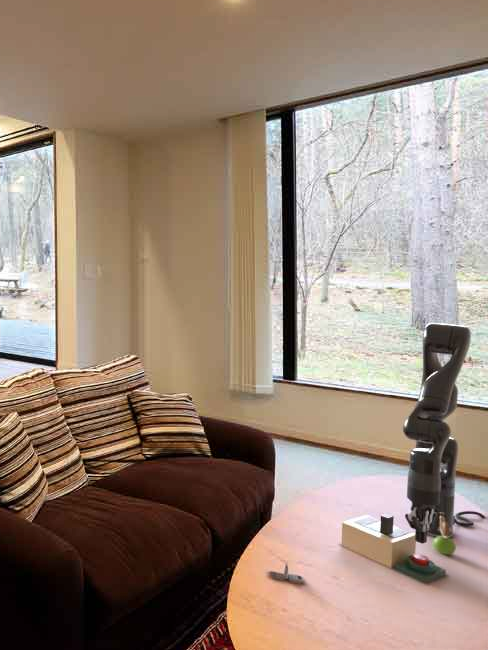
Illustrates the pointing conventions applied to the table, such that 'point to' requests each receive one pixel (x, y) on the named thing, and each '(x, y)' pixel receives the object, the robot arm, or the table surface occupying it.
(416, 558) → the button
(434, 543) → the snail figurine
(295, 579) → the grey elongated piece
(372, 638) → the table surface
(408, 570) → the control block
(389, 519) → the slider
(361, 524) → the long cream box
